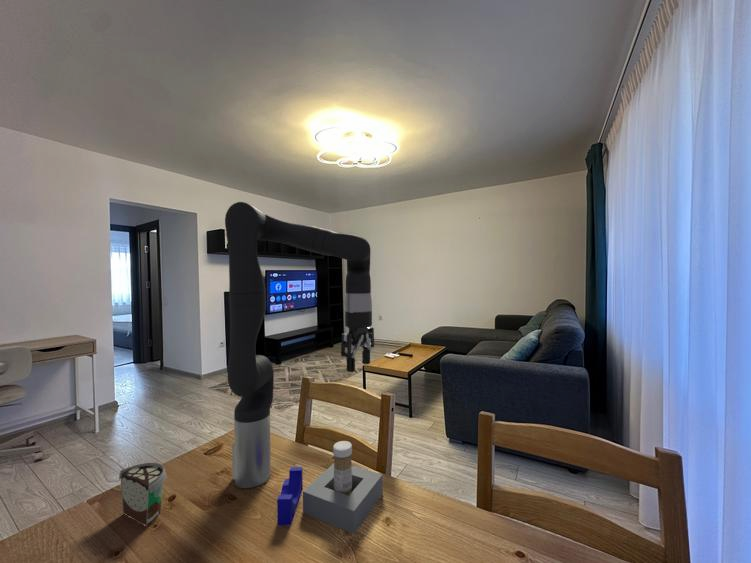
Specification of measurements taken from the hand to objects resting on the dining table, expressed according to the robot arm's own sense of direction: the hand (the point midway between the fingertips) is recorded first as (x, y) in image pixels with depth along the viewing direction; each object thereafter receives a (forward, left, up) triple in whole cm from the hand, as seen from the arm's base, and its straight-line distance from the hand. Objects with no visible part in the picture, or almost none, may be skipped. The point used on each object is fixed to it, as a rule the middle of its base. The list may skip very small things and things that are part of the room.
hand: (358, 367), depth 87 cm
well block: (+2, -11, -30) cm, 32 cm away
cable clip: (-10, -18, -30) cm, 37 cm away
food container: (-38, -34, -30) cm, 59 cm away
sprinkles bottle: (+2, -11, -30) cm, 32 cm away
